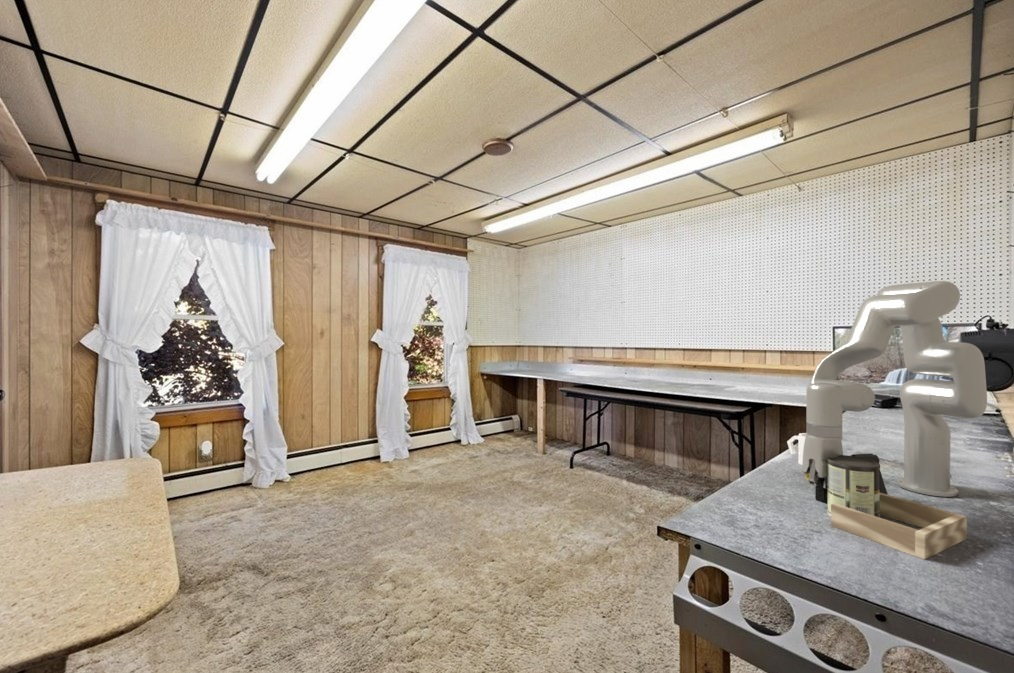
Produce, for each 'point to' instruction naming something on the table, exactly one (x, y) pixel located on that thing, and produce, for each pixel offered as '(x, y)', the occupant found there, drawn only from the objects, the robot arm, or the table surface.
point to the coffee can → (854, 484)
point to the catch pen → (923, 543)
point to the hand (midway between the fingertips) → (823, 501)
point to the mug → (801, 442)
